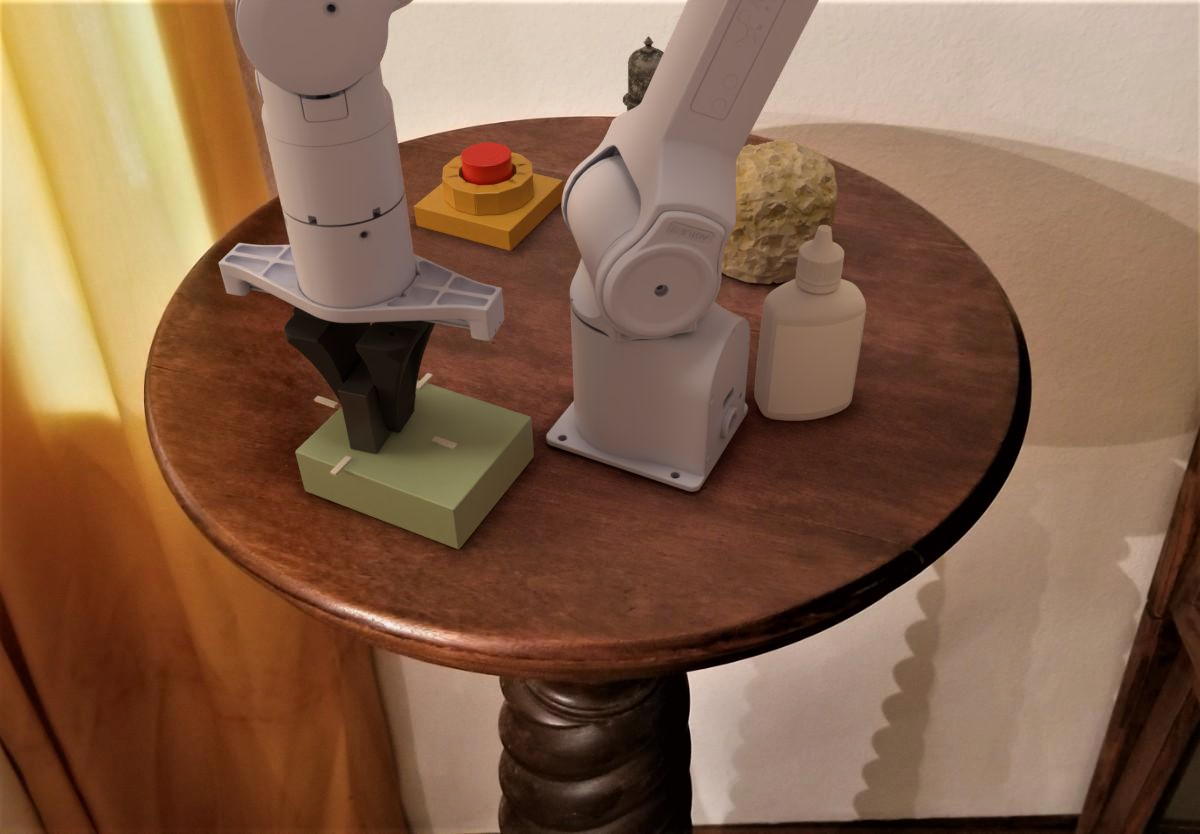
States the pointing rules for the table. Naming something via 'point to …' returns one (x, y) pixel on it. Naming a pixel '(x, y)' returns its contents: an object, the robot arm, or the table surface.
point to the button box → (490, 205)
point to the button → (487, 164)
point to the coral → (777, 209)
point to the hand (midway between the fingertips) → (383, 416)
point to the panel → (424, 464)
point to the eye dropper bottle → (810, 337)
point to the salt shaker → (641, 72)
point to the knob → (363, 411)
